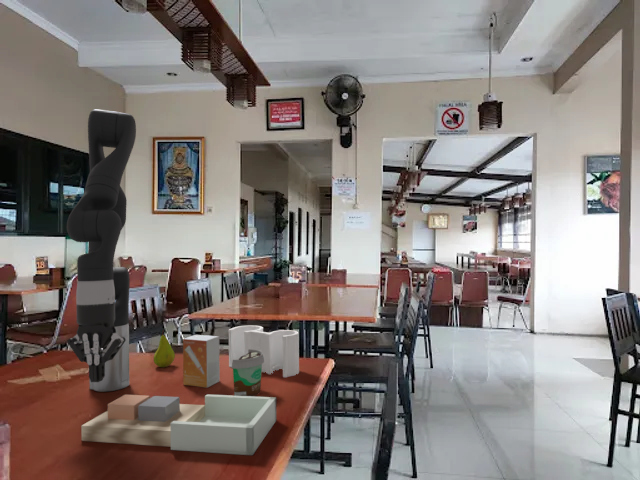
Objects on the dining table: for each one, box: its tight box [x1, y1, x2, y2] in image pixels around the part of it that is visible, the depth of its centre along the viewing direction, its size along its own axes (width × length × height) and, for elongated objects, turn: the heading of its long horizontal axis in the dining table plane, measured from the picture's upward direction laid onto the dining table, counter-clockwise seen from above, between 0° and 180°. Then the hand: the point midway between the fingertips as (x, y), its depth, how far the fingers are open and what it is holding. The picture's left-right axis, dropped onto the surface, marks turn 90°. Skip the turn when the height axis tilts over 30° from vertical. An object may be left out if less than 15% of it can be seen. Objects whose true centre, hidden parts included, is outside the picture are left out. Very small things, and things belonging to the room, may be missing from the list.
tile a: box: [107, 394, 151, 420], centre depth 94 cm, size 6×6×3 cm
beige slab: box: [80, 403, 205, 448], centre depth 94 cm, size 20×14×3 cm
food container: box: [231, 349, 264, 397], centre depth 116 cm, size 12×6×10 cm, turn 168°
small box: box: [182, 334, 221, 389], centre depth 124 cm, size 8×6×13 cm
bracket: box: [228, 325, 300, 378], centre depth 139 cm, size 25×10×12 cm, turn 55°
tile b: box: [138, 395, 181, 422], centre depth 93 cm, size 6×6×3 cm
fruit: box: [153, 330, 176, 368], centre depth 143 cm, size 6×6×12 cm
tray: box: [170, 394, 277, 456], centre depth 90 cm, size 16×16×5 cm
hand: (97, 381), depth 96 cm, fingers closed
